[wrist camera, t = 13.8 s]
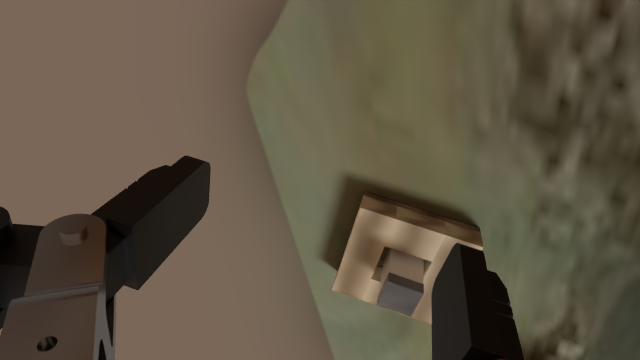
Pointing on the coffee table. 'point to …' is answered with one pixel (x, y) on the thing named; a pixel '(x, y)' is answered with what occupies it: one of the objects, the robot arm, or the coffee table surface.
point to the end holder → (398, 247)
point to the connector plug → (401, 282)
